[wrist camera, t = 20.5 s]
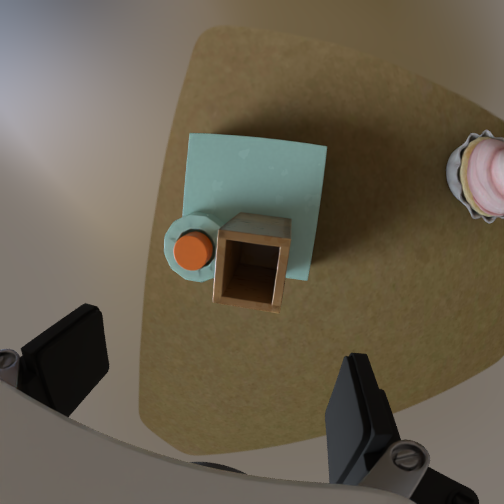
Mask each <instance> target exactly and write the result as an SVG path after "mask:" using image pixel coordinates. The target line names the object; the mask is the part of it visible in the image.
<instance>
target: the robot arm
mask: <svg viewBox="0 0 504 504" xmlns="http://www.w3.org/2000/svg"><path fill="white" fill-rule="evenodd" d="M21 351H22V355H23V356H21V357H20V356H19V354H18V353H17V352H16V351H14V350H11V349H2V350H0V504H479V499H478V497H477V495H476V494H475V493H474V491H473V490H471V489H470V488H468V487H466V486H464V485H462V484H460V483H458V482H456V481H454V480H452V479H450V478H448V477H447V476H445V475H443V474H440V473H439V472H437V471H435V470H433V469H431V468H430V467H428V466H429V463H430V455H429V453H428V451H427V450H426V449H425V447H424V446H422V445H421V444H419V443H418V442H415V441H411V440H401V439H400V435H399V432H398V429H397V426H396V423H395V420H394V417H393V414H392V411H391V408H390V405H389V402H388V399H387V397H386V394H385V392H384V390H382V389H379V387H378V384H377V382H376V379H375V376H374V373H373V370H372V367H371V365H370V362H369V359H368V356H367V354H361V353H351V354H350V355H349V356H345V357H344V359H343V362H342V365H341V369H340V372H339V375H338V378H337V381H336V384H335V387H334V389H333V392H332V395H331V398H330V401H329V403H328V406H327V409H326V413H325V422H326V435H327V448H328V464H329V482H330V483H318V482H303V481H292V480H282V479H273V478H266V477H258V476H252V475H246V474H240V473H234V472H229V471H224V470H219V469H214V468H209V467H205V466H201V465H197V464H193V463H189V462H185V461H181V460H178V459H174V458H170V457H167V456H164V455H160V454H157V453H154V452H151V451H148V450H145V449H142V448H139V447H136V446H133V445H131V444H128V443H126V442H123V441H120V440H118V439H115V438H113V437H110V436H108V435H105V434H103V433H101V432H99V431H96V430H94V429H91V428H89V427H87V426H85V425H83V424H81V423H79V422H77V421H74V420H72V419H70V418H68V417H69V416H70V414H71V413H72V412H73V411H74V410H75V409H76V408H77V407H78V405H79V404H80V403H81V402H82V401H83V400H84V398H85V397H86V396H87V395H88V394H89V393H90V392H91V390H92V389H93V388H94V387H95V386H96V385H97V384H98V383H99V381H100V380H101V379H102V378H103V377H104V376H105V374H106V373H107V372H108V370H109V361H108V355H107V348H106V341H105V335H104V326H103V317H102V313H101V311H100V310H99V308H98V307H97V306H93V305H90V304H86V303H85V304H83V305H81V306H80V307H78V308H77V309H75V310H74V311H73V312H71V313H70V314H69V315H67V316H66V317H64V318H62V319H61V320H60V321H58V322H57V323H55V324H54V325H53V326H51V327H50V328H48V329H47V330H46V331H44V332H43V333H41V334H40V335H38V336H37V337H36V338H34V339H33V340H32V341H30V342H29V343H27V344H26V345H25V346H23V347H22V348H21Z"/></svg>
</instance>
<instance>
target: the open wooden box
mask: <svg viewBox="0 0 504 504" xmlns="http://www.w3.org/2000/svg"><path fill="white" fill-rule="evenodd" d="M291 221H292V219H289V218H282V217H275V216H267V215H260V214H252V213H244V212H240V213H238V214H237V215H236V216H235V217H233V218H232V219H231V220H230V221H228V222H227V223H226V224H224V225H223V226H222V227H221V228H219V229H218V237H217V249H216V262H215V275H214V290H213V303H219V304H224V305H230V306H236V307H243V308H249V309H255V310H262V311H269V312H275V313H280V309H281V303H282V297H283V290H284V284H285V278H286V271H287V265H288V258H289V251H290V245H291Z"/></svg>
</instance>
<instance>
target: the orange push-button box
mask: <svg viewBox="0 0 504 504" xmlns="http://www.w3.org/2000/svg"><path fill="white" fill-rule="evenodd" d="M326 154H327V146H322V145H316V144H309V143H302V142H295V141H287V140H278V139H269V138H260V137H249V136H237V135H223V134H205V133H190V137H189V146H188V156H187V166H186V177H185V189H184V202H183V217H182V218H180V219H178V220H176V221H174V222H173V223H172V225H171V226H170V228H169V230H168V231H167V233H166V234H165V238H164V254H165V256H166V258H167V260H168V262H169V265H170V267H171V268H172V269H173V270H174V271H175V272H177V273H178V274H179V275H181V276H182V277H183V278H184V279H186V280H192V281H198V282H204V281H207V280H209V279H212V278H214V275H215V262H216V249H217V237H218V229H219V228H221V227H222V226H223V225H224V224H226V223H227V222H228V221H230V220H231V219H232V218H233V217H235V216H236V215H237V214H238V213H240V212H244V213H252V214H260V215H267V216H275V217H282V218H289V219H292V221H291V245H290V251H289V258H288V265H287V271H286V278H292V279H299V280H308V275H309V270H310V264H311V258H312V252H313V246H314V240H315V234H316V227H317V221H318V214H319V207H320V200H321V193H322V186H323V178H324V170H325V162H326ZM195 231H196V232H201V233H203V234H205V235H206V236H207V237H208V238H209V239H210V241H211V243H212V246H213V253H212V256H211V258H210V259H209V261H208V262H207V263H206V264H205V265H204V266H203V267H202V268H200V269H198V270H195V271H190V270H186V269H184V268H182V267H181V266H180V265H179V264H178V263H177V262H176V260H175V257H174V246H175V243H176V242H177V240H178V239H180V238H181V237H183V236H184V235H186V234H188V233H190V232H195Z"/></svg>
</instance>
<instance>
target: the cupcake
mask: <svg viewBox="0 0 504 504" xmlns="http://www.w3.org/2000/svg"><path fill="white" fill-rule="evenodd" d="M446 176H447V182H448V185H449V188H450V190H451V192H452V193H453V195H454V196H455V197H456V198H457V199H458V200H459V201H461V202H462V203H463V204H464V205H465V206H466V207H467V208H468V210H469V212H470V214H471V216H472V218H473V219H478V218H481V217H482V218H483V219H484V220H485V221H486V222H487V223H489V224H490V223H492V222H494V220H495V219H496V218H497V217H499V218H502V219H504V138H502V137H498V138H495V137H494V136H493V135H492V133H491V132H490V131H488V130H485V131H483V133H482V134H481V135H478V134H475V133H470V135H469V137H468V139H467V140H466V142H465V143H464V144H463V145H461V146H460V147H458V148H457V149H456V150H454V151H453V152H452V154H451V156H450V157H449V160H448V163H447V167H446Z"/></svg>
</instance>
